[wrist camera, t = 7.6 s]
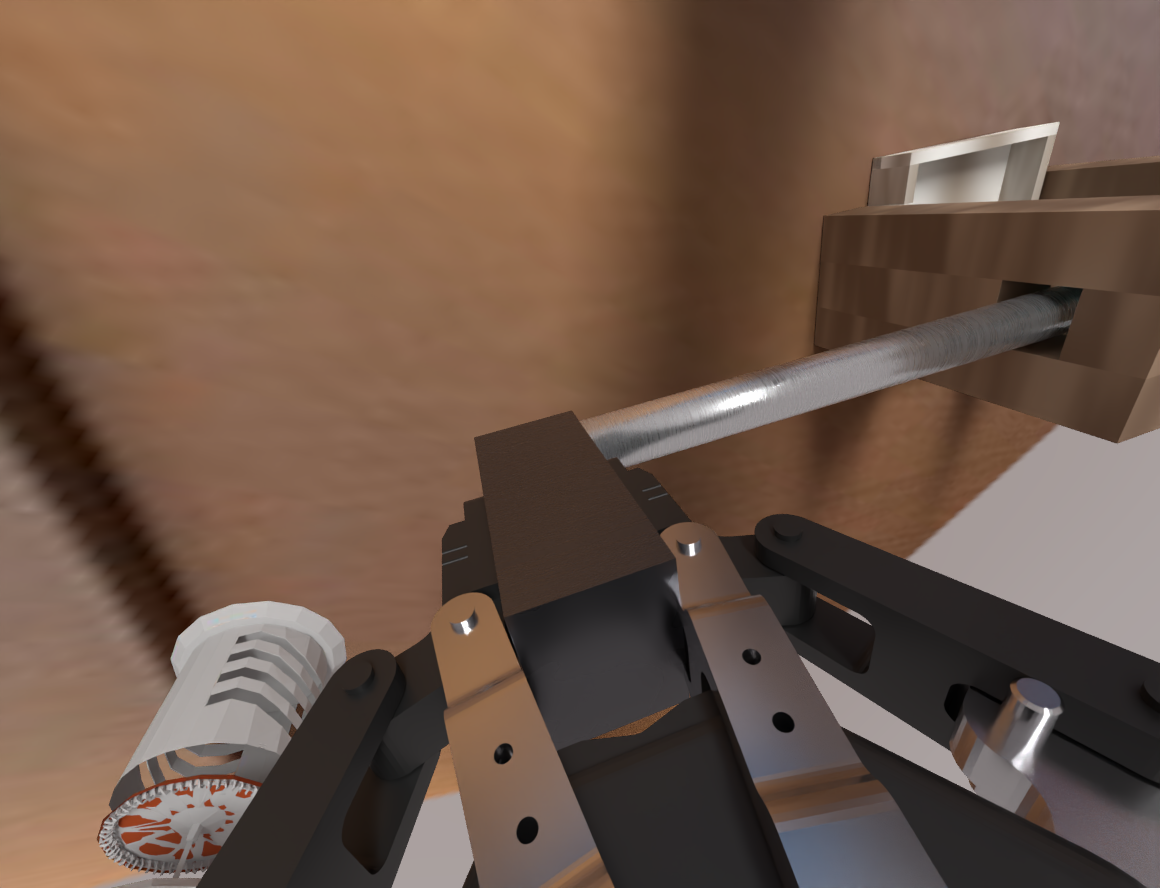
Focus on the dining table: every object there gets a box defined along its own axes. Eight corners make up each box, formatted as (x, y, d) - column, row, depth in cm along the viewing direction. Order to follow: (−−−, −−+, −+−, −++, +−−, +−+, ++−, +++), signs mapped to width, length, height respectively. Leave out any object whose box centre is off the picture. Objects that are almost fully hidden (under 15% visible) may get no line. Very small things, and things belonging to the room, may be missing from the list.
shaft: (500, 509, 17) (553, 753, 9) (469, 412, 15) (503, 618, 7) (1039, 344, 21) (1393, 415, 13) (1068, 252, 19) (1503, 271, 11)
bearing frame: (811, 379, 32) (1093, 496, 18) (827, 167, 26) (1269, 105, 12) (998, 324, 35) (1367, 391, 21) (1052, 121, 29) (1625, 26, 15)
